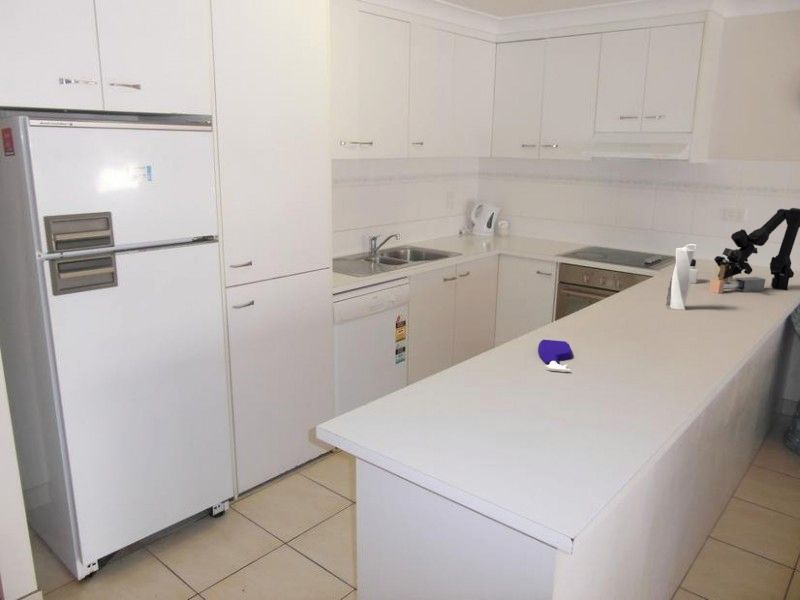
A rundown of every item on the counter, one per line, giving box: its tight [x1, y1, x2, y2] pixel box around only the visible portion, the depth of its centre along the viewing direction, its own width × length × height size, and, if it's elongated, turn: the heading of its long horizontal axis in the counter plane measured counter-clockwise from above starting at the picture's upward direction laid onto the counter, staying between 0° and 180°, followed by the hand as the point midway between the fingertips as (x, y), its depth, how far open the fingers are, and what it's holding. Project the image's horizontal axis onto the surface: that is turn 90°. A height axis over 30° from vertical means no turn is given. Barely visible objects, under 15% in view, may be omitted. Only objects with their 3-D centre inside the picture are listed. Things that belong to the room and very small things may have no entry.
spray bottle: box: [537, 339, 573, 373], centre depth 200 cm, size 3×11×24 cm
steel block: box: [734, 276, 766, 293], centre depth 302 cm, size 12×6×6 cm, turn 107°
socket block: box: [708, 278, 725, 295], centre depth 296 cm, size 3×6×6 cm, turn 17°
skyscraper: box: [665, 243, 698, 311], centre depth 263 cm, size 8×8×28 cm
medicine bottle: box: [690, 258, 699, 285], centre depth 317 cm, size 7×7×12 cm
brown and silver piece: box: [719, 265, 745, 290], centre depth 298 cm, size 18×4×12 cm, turn 107°
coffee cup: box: [714, 256, 734, 282], centre depth 320 cm, size 9×9×12 cm
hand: (720, 277), depth 296 cm, fingers closed on brown and silver piece, 3 cm apart
